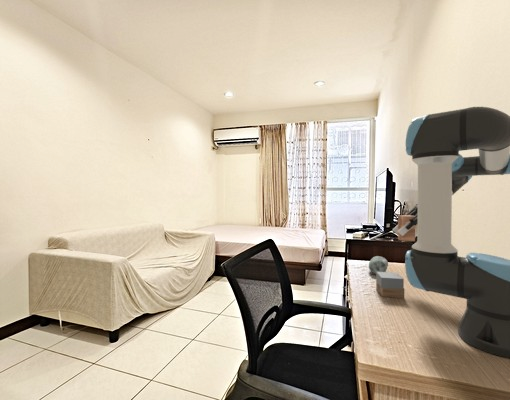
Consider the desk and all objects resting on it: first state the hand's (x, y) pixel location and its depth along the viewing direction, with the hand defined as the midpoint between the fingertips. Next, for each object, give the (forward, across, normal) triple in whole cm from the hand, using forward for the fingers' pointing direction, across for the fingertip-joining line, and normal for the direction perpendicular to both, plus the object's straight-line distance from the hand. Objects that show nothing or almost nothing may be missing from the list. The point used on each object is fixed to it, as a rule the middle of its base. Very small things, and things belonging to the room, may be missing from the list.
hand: (397, 232), depth 116 cm
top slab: (+19, -13, -8) cm, 25 cm away
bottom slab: (+22, -12, -11) cm, 28 cm away
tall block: (0, 0, -5) cm, 5 cm away
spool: (+19, +17, -15) cm, 29 cm away
